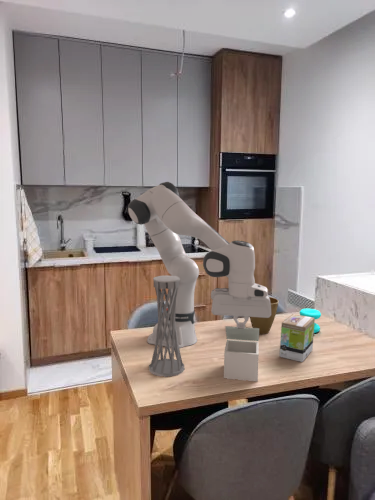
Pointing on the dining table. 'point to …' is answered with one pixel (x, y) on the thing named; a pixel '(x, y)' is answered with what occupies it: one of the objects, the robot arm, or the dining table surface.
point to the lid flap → (242, 333)
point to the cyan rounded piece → (313, 314)
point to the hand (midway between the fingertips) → (240, 328)
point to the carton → (241, 360)
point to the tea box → (297, 337)
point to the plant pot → (265, 323)
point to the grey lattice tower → (165, 365)
